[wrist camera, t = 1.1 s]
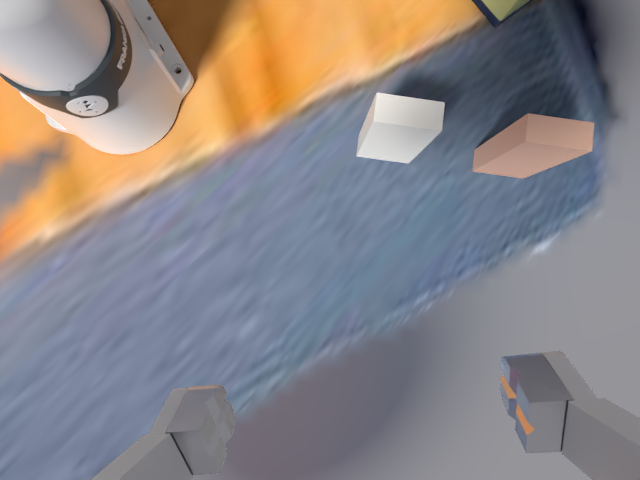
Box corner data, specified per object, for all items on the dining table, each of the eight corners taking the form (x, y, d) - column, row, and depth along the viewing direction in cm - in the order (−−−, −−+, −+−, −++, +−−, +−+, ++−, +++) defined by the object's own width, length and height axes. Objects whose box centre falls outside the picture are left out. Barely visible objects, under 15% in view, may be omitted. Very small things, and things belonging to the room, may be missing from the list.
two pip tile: (523, 178, 50) (592, 151, 38) (472, 171, 50) (525, 141, 38) (525, 154, 50) (594, 120, 39) (474, 147, 50) (528, 110, 38)
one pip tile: (408, 163, 50) (441, 130, 38) (356, 156, 49) (373, 121, 37) (411, 139, 50) (445, 99, 38) (359, 132, 50) (377, 90, 38)
